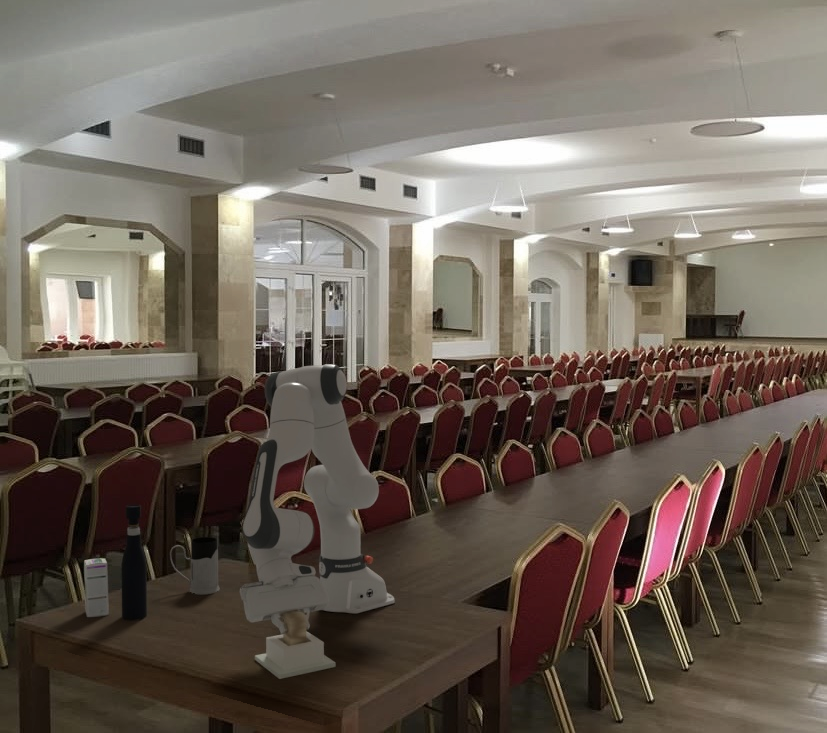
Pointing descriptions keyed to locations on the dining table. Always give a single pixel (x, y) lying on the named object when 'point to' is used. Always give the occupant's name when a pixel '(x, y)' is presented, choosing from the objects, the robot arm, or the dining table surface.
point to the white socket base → (294, 657)
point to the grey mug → (202, 565)
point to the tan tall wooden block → (295, 628)
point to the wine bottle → (134, 570)
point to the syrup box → (96, 587)
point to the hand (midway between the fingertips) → (295, 630)
